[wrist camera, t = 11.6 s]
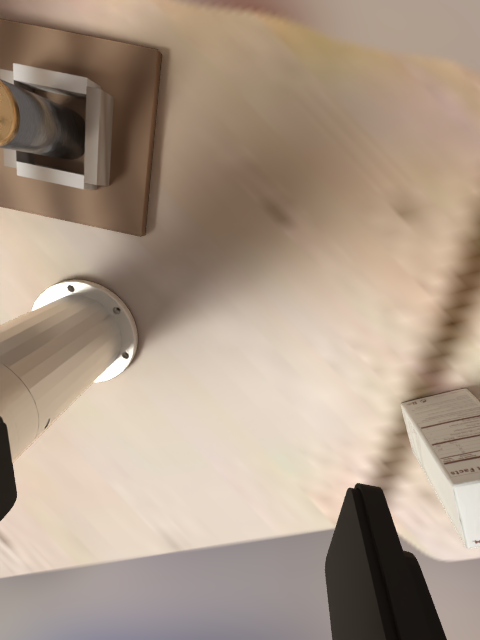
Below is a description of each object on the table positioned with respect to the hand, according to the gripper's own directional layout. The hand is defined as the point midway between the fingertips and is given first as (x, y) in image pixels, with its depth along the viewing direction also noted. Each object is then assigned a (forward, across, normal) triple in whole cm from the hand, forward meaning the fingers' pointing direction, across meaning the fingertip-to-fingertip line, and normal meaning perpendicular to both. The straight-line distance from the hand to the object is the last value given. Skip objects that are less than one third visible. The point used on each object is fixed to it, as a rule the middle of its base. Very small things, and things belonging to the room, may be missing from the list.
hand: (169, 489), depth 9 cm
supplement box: (+29, -24, +14) cm, 40 cm away
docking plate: (+28, +19, -11) cm, 36 cm away
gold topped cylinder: (+27, +19, -11) cm, 35 cm away
